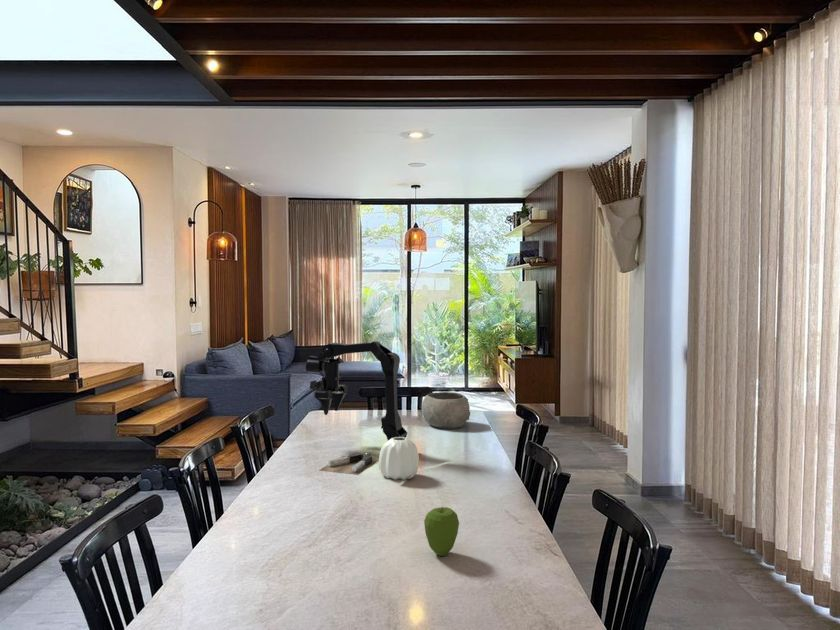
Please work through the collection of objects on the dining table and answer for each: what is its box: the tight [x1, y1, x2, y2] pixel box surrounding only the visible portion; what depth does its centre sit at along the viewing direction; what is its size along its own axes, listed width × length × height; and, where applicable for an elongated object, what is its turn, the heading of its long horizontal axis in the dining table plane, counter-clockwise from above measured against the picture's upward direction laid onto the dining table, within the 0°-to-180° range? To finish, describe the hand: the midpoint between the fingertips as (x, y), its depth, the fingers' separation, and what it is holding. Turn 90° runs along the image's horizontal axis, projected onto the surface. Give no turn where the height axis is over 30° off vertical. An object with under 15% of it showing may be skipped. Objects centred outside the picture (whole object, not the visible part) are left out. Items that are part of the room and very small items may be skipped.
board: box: [318, 455, 379, 476], centre depth 216 cm, size 15×20×1 cm
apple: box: [423, 506, 460, 557], centre depth 144 cm, size 9×8×12 cm
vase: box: [378, 437, 420, 481], centre depth 205 cm, size 14×14×13 cm
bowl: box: [421, 391, 471, 430], centre depth 286 cm, size 23×23×15 cm
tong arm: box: [327, 452, 364, 467], centre depth 218 cm, size 2×14×2 cm, turn 132°
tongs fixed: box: [352, 451, 373, 473], centre depth 216 cm, size 4×18×3 cm, turn 163°
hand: (331, 412), depth 240 cm, fingers open, 9 cm apart
